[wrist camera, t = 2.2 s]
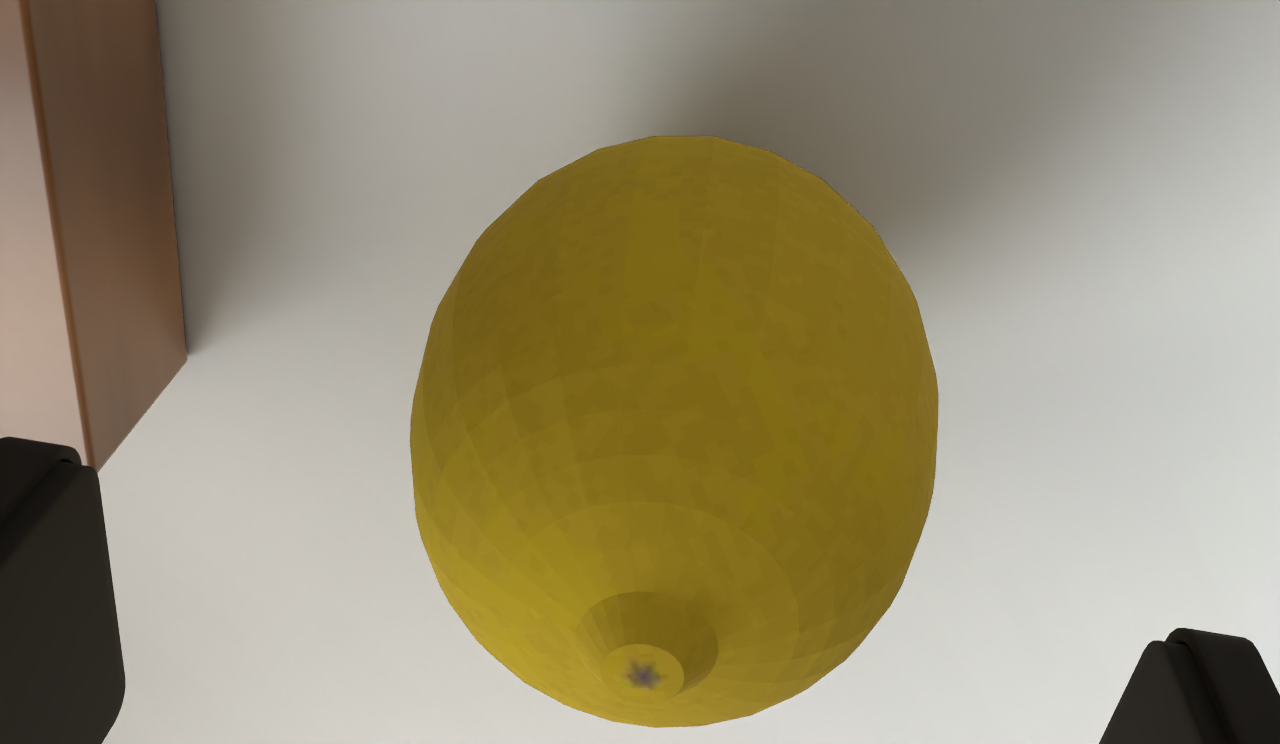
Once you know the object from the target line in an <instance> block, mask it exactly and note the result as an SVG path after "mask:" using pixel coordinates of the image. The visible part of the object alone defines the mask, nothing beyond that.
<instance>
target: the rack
mask: <svg viewBox="0 0 1280 744" xmlns="http://www.w3.org/2000/svg"><path fill="white" fill-rule="evenodd" d="M186 360H187V354H186V342H185V331H184V320H183V308H182V297H181V286H180V275H179V263H178V252H177V241H176V229H175V218H174V207H173V195H172V184H171V173H170V161H169V150H168V139H167V127H166V116H165V105H164V93H163V82H162V71H161V59H160V48H159V37H158V25H157V14H156V3H155V0H0V438H4V437H8V436H10V437H17V438H23V439H29V440H35V441H41V442H47V443H53V444H59V445H66V446H70V447H72V448H75V449H76V451H77V452H78V453H79V455H80V458H81V462H82V465H86V466H90V467H93V468H94V469H95V471H96V472H97V473H98V472H99V470H100V469H101V468H102V467H103V465H104V464H105V463H106V462H107V460H108V459H109V458H110V457H111V455H112V454H113V453H114V452H115V450H116V449H117V448H118V447H119V445H120V444H121V443H122V442H123V440H124V439H125V438H126V437H127V435H128V434H129V433H130V432H131V430H132V429H133V428H134V427H135V425H136V424H137V423H138V422H139V420H140V419H141V418H142V417H143V415H144V414H145V413H146V412H147V410H148V409H149V408H150V407H151V405H152V404H153V403H154V401H155V400H156V399H157V398H158V396H159V395H160V394H161V393H162V391H163V390H164V389H165V388H166V386H167V385H168V384H169V383H170V381H171V380H172V379H173V378H174V376H175V375H176V374H177V373H178V371H179V370H180V369H181V368H182V366H183V365H184V364H185V362H186Z"/></svg>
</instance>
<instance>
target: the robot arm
mask: <svg viewBox="0 0 1280 744" xmlns="http://www.w3.org/2000/svg"><path fill="white" fill-rule="evenodd" d="M124 693H125V673H124V666H123V658H122V651H121V643H120V635H119V628H118V620H117V613H116V605H115V598H114V590H113V583H112V575H111V568H110V560H109V552H108V545H107V537H106V530H105V522H104V515H103V507H102V500H101V492H100V485H99V479H98V475H97V472H96V471H95V469H94V468H93V467H90V466H86V465H82V462H81V458H80V455H79V453H78V452H77V451H76V449H75V448H72V447H70V446H66V445H59V444H53V443H47V442H41V441H35V440H29V439H23V438H17V437H10V436H8V437H4V438H0V744H102V742H103V740H104V739H105V737H106V736H107V734H108V732H109V731H110V729H111V727H112V726H113V724H114V722H115V720H116V718H117V716H118V714H119V711H120V709H121V706H122V702H123V698H124ZM1099 744H1280V695H1279V693H1278V691H1277V689H1276V687H1275V685H1274V683H1273V680H1272V678H1271V676H1270V674H1269V672H1268V670H1267V668H1266V666H1265V664H1264V662H1263V660H1262V658H1261V656H1260V654H1259V652H1258V650H1257V649H1256V647H1255V646H1254V644H1253V643H1252V642H1251V641H1249V640H1247V639H1246V638H1243V637H1236V636H1230V635H1224V634H1218V633H1212V632H1206V631H1200V630H1194V629H1187V628H1177V629H1175V630H1174V631H1173V632H1171V633H1170V634H1169V636H1168V637H1167V639H1166V641H1165V642H1163V641H1152V642H1151V643H1149V644H1148V645H1147V647H1146V648H1145V650H1144V651H1143V654H1142V656H1141V658H1140V660H1139V662H1138V664H1137V666H1136V668H1135V670H1134V672H1133V674H1132V676H1131V678H1130V680H1129V683H1128V685H1127V687H1126V689H1125V691H1124V693H1123V695H1122V697H1121V699H1120V701H1119V703H1118V705H1117V707H1116V709H1115V712H1114V714H1113V716H1112V718H1111V720H1110V722H1109V724H1108V726H1107V728H1106V730H1105V732H1104V734H1103V736H1102V738H1101V740H1100V743H1099Z"/></svg>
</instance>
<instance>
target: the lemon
mask: <svg viewBox="0 0 1280 744" xmlns="http://www.w3.org/2000/svg"><path fill="white" fill-rule="evenodd" d="M937 428H938V387H937V379H936V373H935V369H934V365H933V361H932V358H931V354H930V350H929V346H928V342H927V338H926V334H925V330H924V327H923V323H922V319H921V315H920V311H919V307H918V304H917V301H916V299H915V296H914V294H913V292H912V290H911V288H910V286H909V284H908V282H907V281H906V279H905V277H904V276H903V274H902V272H901V271H900V269H899V268H898V266H897V264H896V263H895V261H894V259H893V258H892V256H891V254H890V253H889V251H888V249H887V248H886V246H885V244H884V243H883V241H882V239H881V238H880V236H879V235H878V233H877V232H876V230H875V229H874V227H873V226H872V225H871V224H870V223H869V222H868V221H867V220H866V219H865V218H863V217H862V216H861V215H860V214H859V213H858V212H857V211H856V210H855V209H854V208H853V207H852V206H851V205H849V204H848V203H847V202H846V201H845V200H844V199H843V198H842V197H841V196H840V195H839V194H838V193H837V192H835V191H834V190H833V189H832V188H831V187H830V186H829V185H828V184H827V183H826V182H825V181H824V180H822V179H821V178H819V177H817V176H815V175H813V174H812V173H810V172H808V171H806V170H804V169H802V168H801V167H799V166H797V165H795V164H793V163H791V162H790V161H788V160H786V159H784V158H782V157H780V156H778V155H777V154H775V153H773V152H771V151H767V150H763V149H759V148H756V147H752V146H748V145H744V144H740V143H736V142H733V141H729V140H725V139H721V138H717V137H702V136H653V137H648V138H644V139H640V140H635V141H631V142H627V143H623V144H618V145H614V146H610V147H605V148H601V149H598V150H596V151H594V152H592V153H590V154H588V155H586V156H584V157H582V158H580V159H578V160H576V161H574V162H572V163H571V164H569V165H567V166H565V167H563V168H561V169H559V170H557V171H555V172H553V173H551V174H549V175H548V176H546V177H544V178H542V179H540V180H538V181H537V182H536V183H535V184H534V185H533V186H532V187H530V188H529V189H528V190H527V191H526V192H525V193H524V194H523V195H522V196H521V197H520V198H519V199H518V200H517V201H515V202H514V203H513V204H512V205H511V206H510V207H509V208H508V209H507V210H506V211H505V212H504V213H503V214H502V215H501V216H499V217H498V218H497V219H496V220H495V221H494V222H493V223H492V224H491V225H490V226H489V227H488V228H487V229H486V230H485V231H484V232H483V234H482V235H481V236H480V237H479V239H478V240H477V241H476V243H475V244H474V246H473V248H472V249H471V251H470V253H469V254H468V256H467V258H466V259H465V261H464V263H463V265H462V266H461V268H460V270H459V271H458V273H457V275H456V276H455V278H454V280H453V281H452V283H451V285H450V287H449V288H448V290H447V292H446V294H445V295H444V297H443V299H442V301H441V303H440V304H439V306H438V308H437V311H436V314H435V316H434V319H433V322H432V324H431V328H430V332H429V336H428V340H427V344H426V349H425V353H424V357H423V361H422V365H421V369H420V373H419V378H418V382H417V386H416V390H415V394H414V399H413V407H412V415H411V431H410V447H411V460H412V473H413V486H414V498H415V511H416V519H417V523H418V527H419V531H420V535H421V539H422V541H423V544H424V546H425V549H426V551H427V554H428V557H429V559H430V562H431V564H432V567H433V569H434V572H435V574H436V577H437V580H438V582H439V585H440V586H441V588H442V590H443V592H444V594H445V596H446V598H447V599H448V601H449V603H450V604H451V606H452V607H453V609H454V610H455V611H456V613H457V614H458V615H459V617H460V618H461V619H462V621H463V622H464V624H465V625H466V626H467V628H468V629H469V630H470V632H471V633H472V635H473V636H474V637H475V639H476V640H477V641H478V642H479V643H480V644H481V645H482V646H483V647H484V648H485V649H486V650H487V651H488V652H489V653H490V654H491V655H493V656H494V657H495V658H496V659H497V660H498V661H500V662H501V663H502V664H503V665H504V666H506V667H507V668H508V669H509V670H510V671H511V672H513V673H514V674H515V675H516V676H517V677H518V678H520V679H521V680H522V681H523V682H524V683H526V684H528V685H530V686H532V687H533V688H535V689H537V690H539V691H541V692H543V693H544V694H546V695H548V696H550V697H552V698H554V699H555V700H557V701H559V702H561V703H563V704H564V705H567V706H569V707H572V708H574V709H577V710H580V711H583V712H586V713H589V714H592V715H595V716H598V717H601V718H604V719H607V720H610V721H614V722H620V723H627V724H634V725H641V726H648V727H686V726H702V725H708V724H713V723H718V722H722V721H727V720H732V719H736V718H741V717H746V716H750V715H753V714H755V713H757V712H760V711H762V710H764V709H766V708H769V707H771V706H773V705H775V704H778V703H780V702H782V701H785V700H787V699H789V698H791V697H793V696H795V695H797V694H799V693H801V692H802V691H804V690H806V689H808V688H809V687H810V686H812V685H813V684H814V683H816V682H817V681H818V680H820V679H821V678H822V677H824V676H825V675H826V674H828V673H829V672H830V671H832V670H833V669H834V668H836V667H837V666H838V665H840V664H841V663H842V662H844V661H845V660H846V659H847V658H848V657H849V656H850V655H851V654H852V653H853V651H854V650H855V649H856V648H857V647H858V646H859V645H860V644H861V643H862V641H863V640H864V639H865V638H866V636H867V635H868V634H869V632H870V631H871V630H872V629H873V627H874V626H875V625H876V624H877V622H878V621H879V620H880V618H881V617H882V616H883V615H884V613H885V612H886V611H887V610H888V608H889V607H890V606H891V604H892V602H893V600H894V598H895V597H896V595H897V593H898V591H899V589H900V587H901V586H902V583H903V581H904V578H905V575H906V573H907V570H908V568H909V565H910V562H911V560H912V557H913V555H914V552H915V549H916V547H917V544H918V542H919V539H920V536H921V533H922V530H923V527H924V524H925V522H926V519H927V516H928V511H929V507H930V503H931V498H932V494H933V486H934V479H935V469H936V449H937Z"/></svg>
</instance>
